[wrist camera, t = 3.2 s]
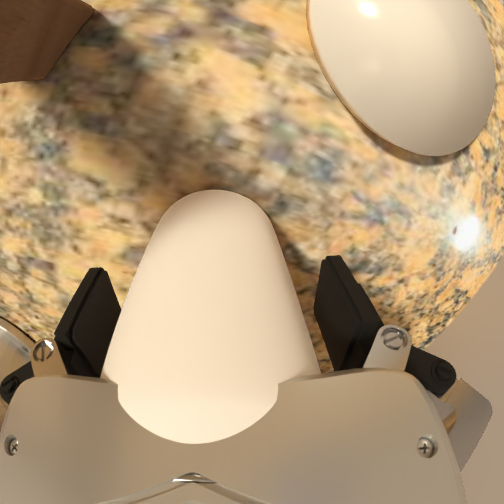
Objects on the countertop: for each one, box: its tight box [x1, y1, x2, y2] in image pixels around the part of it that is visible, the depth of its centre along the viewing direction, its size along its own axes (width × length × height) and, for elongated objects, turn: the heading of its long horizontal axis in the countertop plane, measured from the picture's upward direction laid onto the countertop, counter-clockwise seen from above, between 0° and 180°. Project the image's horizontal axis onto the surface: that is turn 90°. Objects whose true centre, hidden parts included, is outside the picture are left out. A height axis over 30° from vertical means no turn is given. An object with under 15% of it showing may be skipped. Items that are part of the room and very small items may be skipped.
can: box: [100, 190, 321, 484], centre depth 9 cm, size 6×6×12 cm
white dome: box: [306, 0, 496, 156], centre depth 9 cm, size 13×13×1 cm
